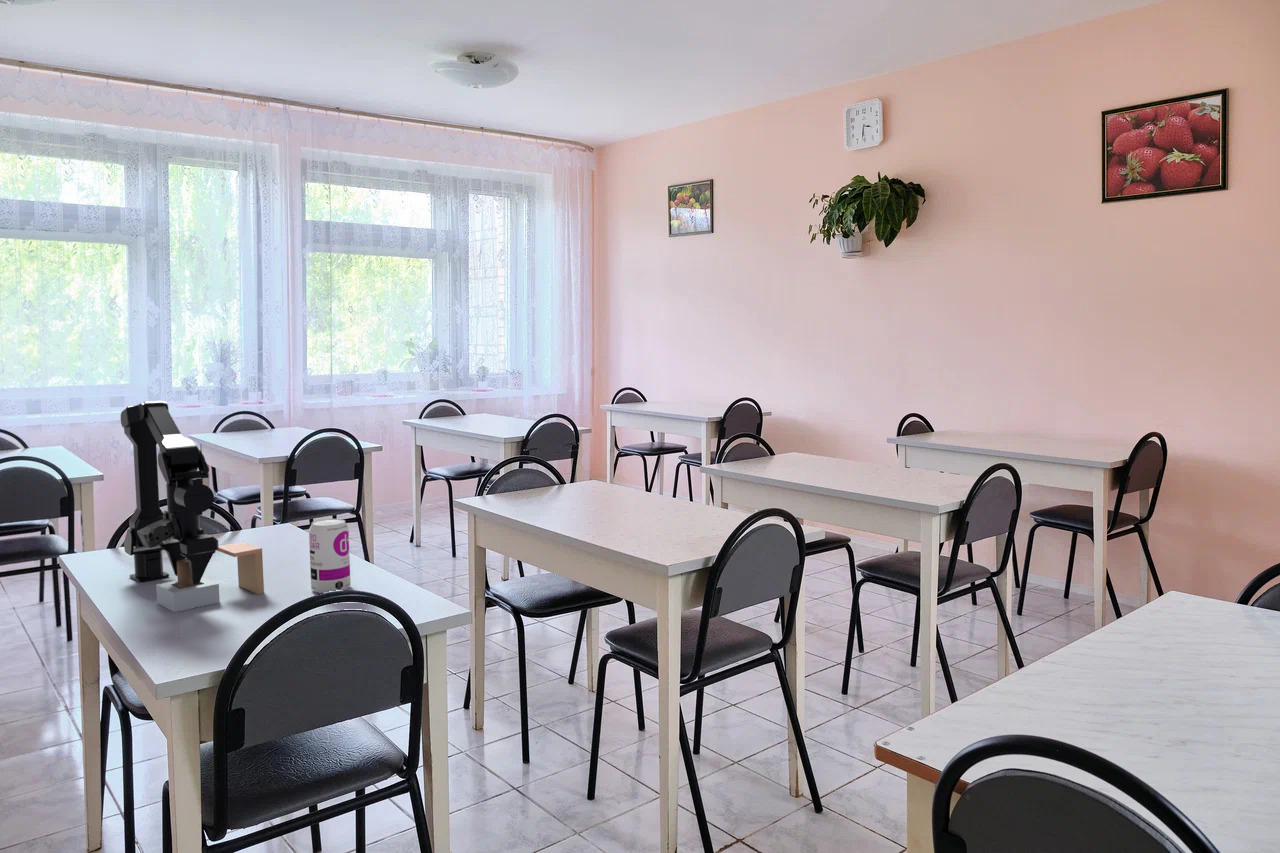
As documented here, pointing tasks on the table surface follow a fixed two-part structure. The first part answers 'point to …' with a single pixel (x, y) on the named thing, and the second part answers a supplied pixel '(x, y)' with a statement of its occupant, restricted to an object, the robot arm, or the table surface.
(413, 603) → the table surface
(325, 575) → the supplement can
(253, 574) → the grey and wooden blocks
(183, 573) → the peg
